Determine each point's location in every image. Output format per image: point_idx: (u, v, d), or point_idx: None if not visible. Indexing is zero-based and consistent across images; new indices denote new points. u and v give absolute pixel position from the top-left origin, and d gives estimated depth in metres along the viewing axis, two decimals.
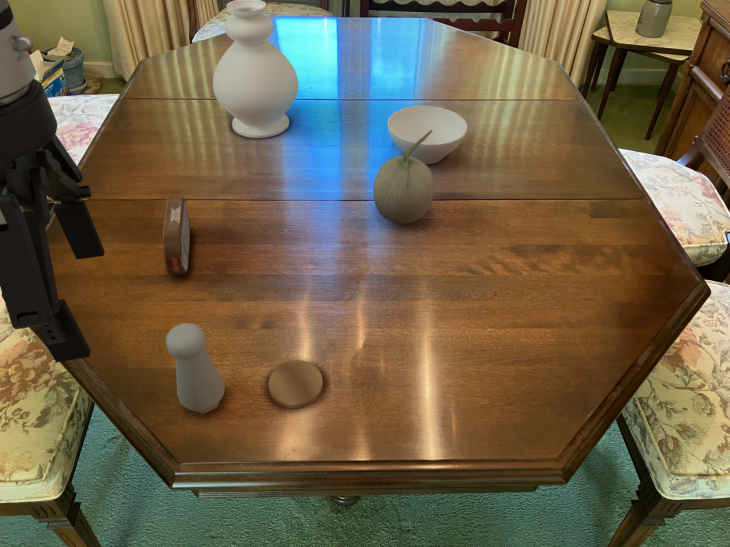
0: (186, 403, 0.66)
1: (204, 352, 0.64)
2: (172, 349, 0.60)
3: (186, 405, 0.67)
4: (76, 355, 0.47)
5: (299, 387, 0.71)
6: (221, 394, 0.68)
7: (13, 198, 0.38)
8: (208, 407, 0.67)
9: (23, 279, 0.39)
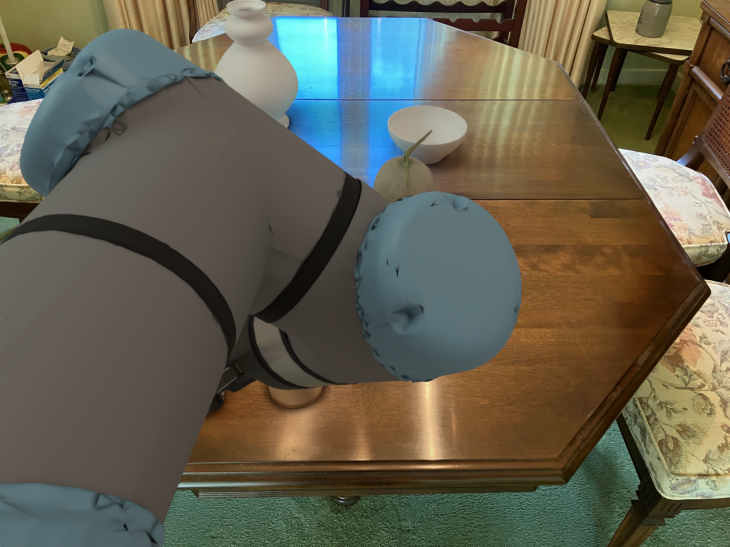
0: None
1: None
2: None
3: None
4: None
5: None
6: None
7: (219, 407, 0.36)
8: None
9: None
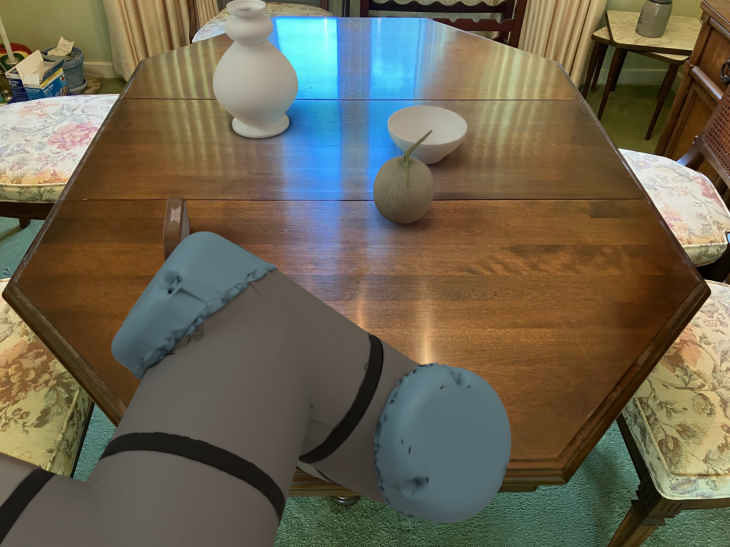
0: None
1: None
2: None
3: None
4: None
5: None
6: None
7: None
8: None
9: None
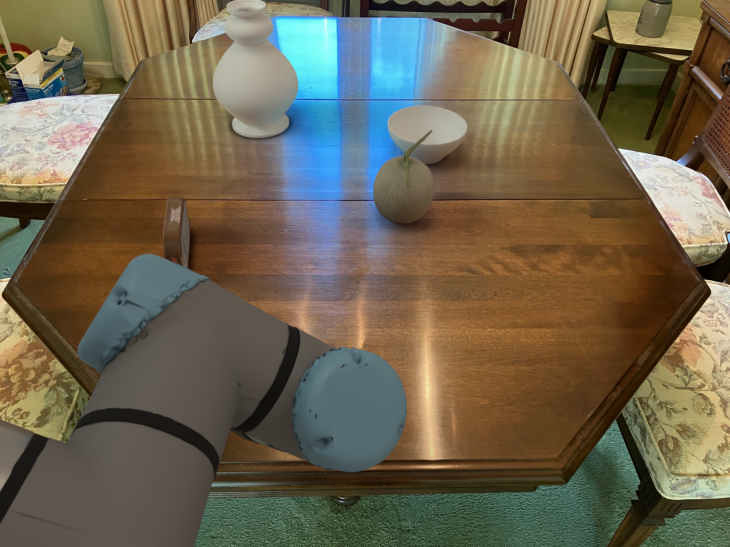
0: None
1: None
2: None
3: None
4: None
5: None
6: None
7: None
8: None
9: None
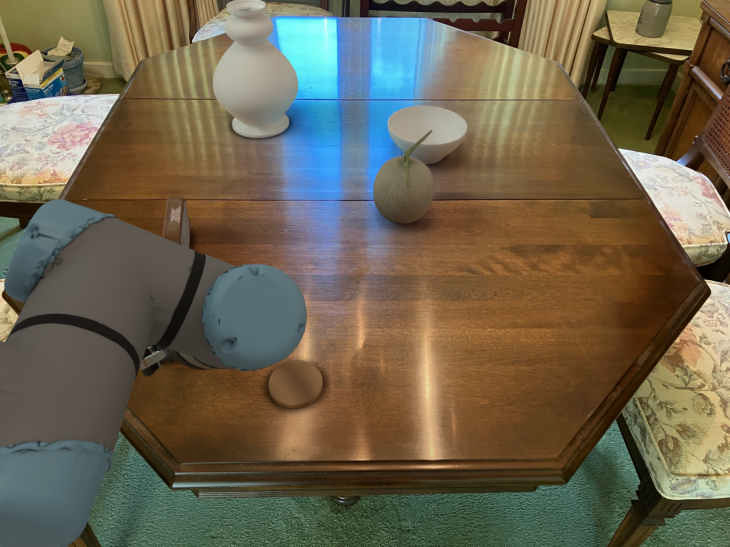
0: None
1: None
2: None
3: None
4: None
5: (299, 387, 0.71)
6: None
7: (150, 374, 0.55)
8: None
9: None
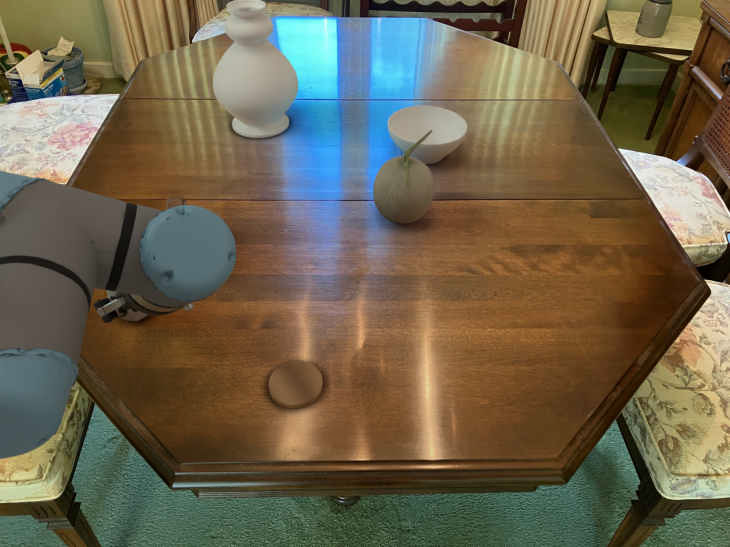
0: None
1: None
2: None
3: None
4: None
5: (299, 387, 0.71)
6: None
7: (109, 321, 0.60)
8: (139, 311, 0.78)
9: None
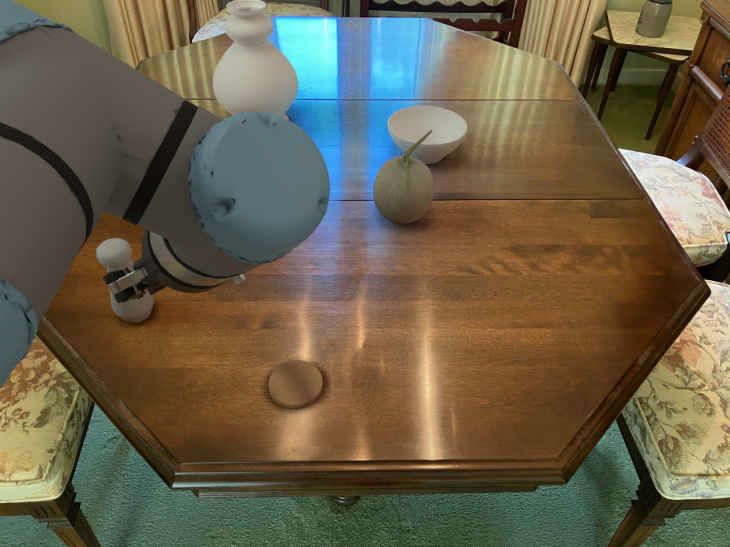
0: (120, 312, 0.77)
1: (131, 263, 0.75)
2: (102, 258, 0.71)
3: (121, 314, 0.77)
4: None
5: (299, 387, 0.71)
6: (151, 303, 0.79)
7: (124, 300, 0.44)
8: (141, 314, 0.78)
9: None
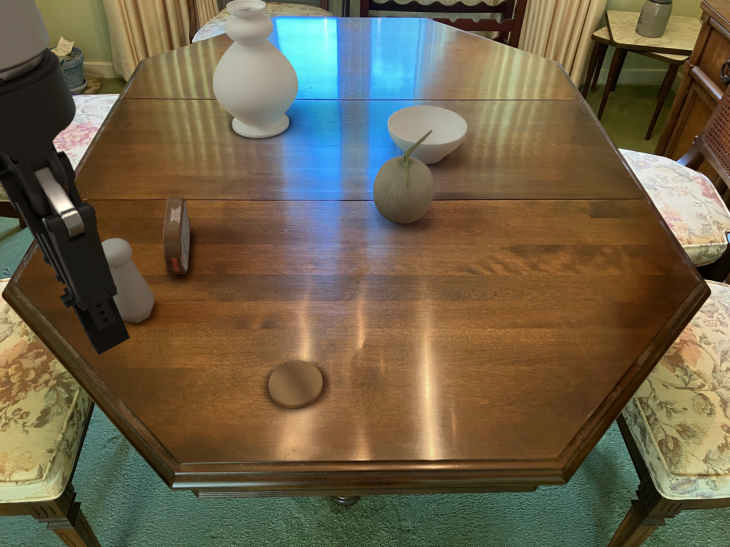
0: (120, 312, 0.77)
1: (131, 263, 0.75)
2: None
3: (121, 314, 0.77)
4: (118, 340, 0.45)
5: (299, 387, 0.71)
6: (151, 303, 0.79)
7: (91, 208, 0.32)
8: (141, 314, 0.78)
9: (97, 271, 0.36)
